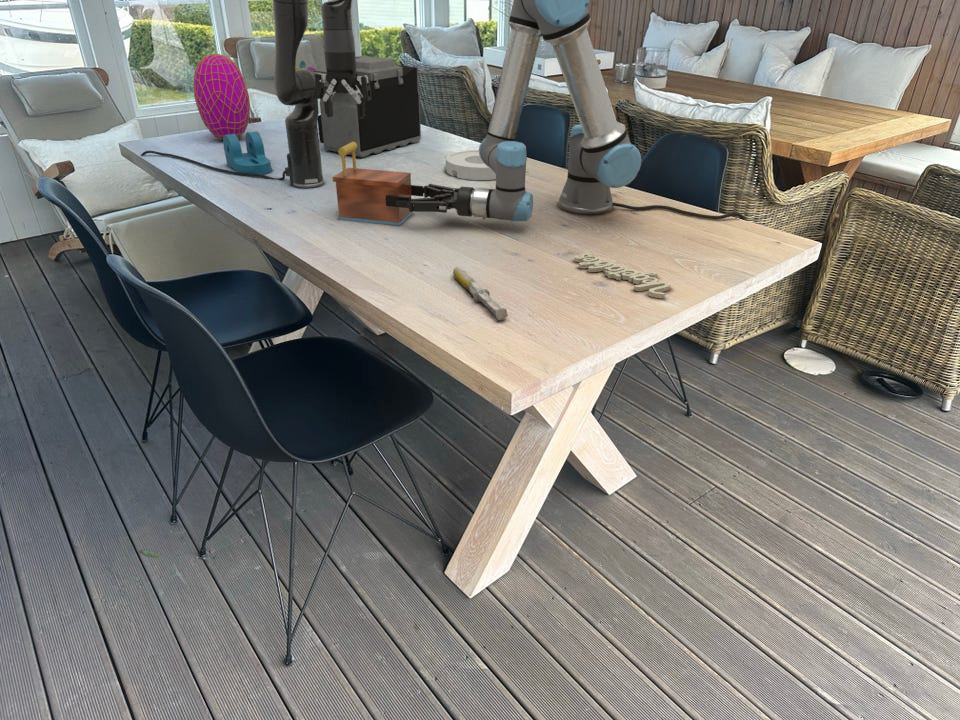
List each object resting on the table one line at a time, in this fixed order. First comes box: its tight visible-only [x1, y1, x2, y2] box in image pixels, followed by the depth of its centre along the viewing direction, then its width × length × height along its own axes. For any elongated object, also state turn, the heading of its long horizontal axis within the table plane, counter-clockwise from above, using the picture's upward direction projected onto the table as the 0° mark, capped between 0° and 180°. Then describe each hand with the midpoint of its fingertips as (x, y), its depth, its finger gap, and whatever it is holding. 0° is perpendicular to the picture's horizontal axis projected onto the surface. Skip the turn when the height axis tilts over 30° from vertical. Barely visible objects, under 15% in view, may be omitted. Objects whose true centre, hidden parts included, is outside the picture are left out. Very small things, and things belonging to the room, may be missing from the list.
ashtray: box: [445, 149, 496, 181], centre depth 229 cm, size 23×23×4 cm
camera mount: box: [222, 131, 272, 175], centre depth 226 cm, size 18×10×10 cm, turn 35°
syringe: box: [452, 266, 509, 321], centre depth 145 cm, size 25×4×3 cm, turn 21°
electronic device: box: [311, 55, 422, 159], centre depth 250 cm, size 37×22×30 cm, turn 144°
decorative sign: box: [574, 252, 671, 299], centre depth 155 cm, size 26×1×10 cm
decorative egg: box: [193, 53, 251, 140], centre depth 257 cm, size 19×19×30 cm
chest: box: [335, 178, 413, 226], centre depth 186 cm, size 18×10×10 cm, turn 75°
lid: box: [332, 142, 412, 188], centre depth 182 cm, size 18×10×9 cm, turn 75°
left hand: (345, 117), depth 177 cm, fingers open, 8 cm apart
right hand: (393, 194), depth 184 cm, fingers closed on chest, 10 cm apart
